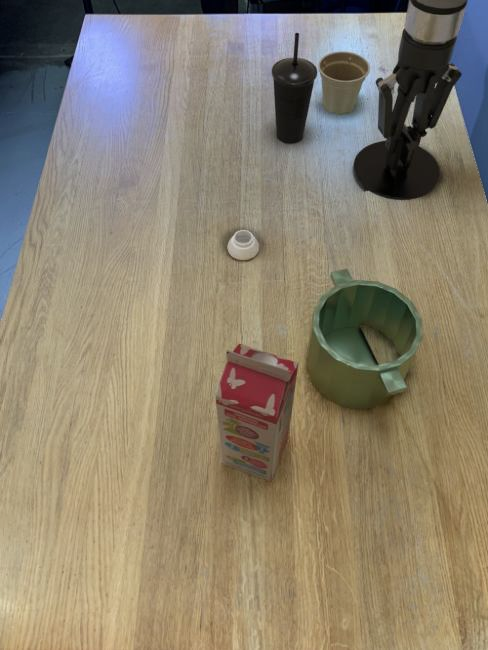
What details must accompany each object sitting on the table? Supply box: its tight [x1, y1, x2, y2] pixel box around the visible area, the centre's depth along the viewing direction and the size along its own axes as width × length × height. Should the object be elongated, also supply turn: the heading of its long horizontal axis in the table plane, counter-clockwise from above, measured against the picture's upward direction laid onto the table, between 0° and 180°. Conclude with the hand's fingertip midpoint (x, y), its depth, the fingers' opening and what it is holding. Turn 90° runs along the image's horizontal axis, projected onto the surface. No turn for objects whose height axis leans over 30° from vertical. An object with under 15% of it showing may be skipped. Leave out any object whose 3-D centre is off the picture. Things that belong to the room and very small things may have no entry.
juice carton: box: [214, 343, 299, 483], centre depth 68 cm, size 7×7×22 cm
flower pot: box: [317, 50, 371, 115], centre depth 113 cm, size 9×9×9 cm
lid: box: [352, 123, 441, 201], centre depth 101 cm, size 15×15×9 cm
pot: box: [305, 268, 424, 410], centre depth 80 cm, size 14×19×10 cm
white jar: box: [226, 229, 260, 261], centre depth 95 cm, size 5×3×5 cm
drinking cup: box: [271, 32, 318, 145], centre depth 103 cm, size 8×8×20 cm
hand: (397, 163), depth 103 cm, fingers closed on lid, 2 cm apart
